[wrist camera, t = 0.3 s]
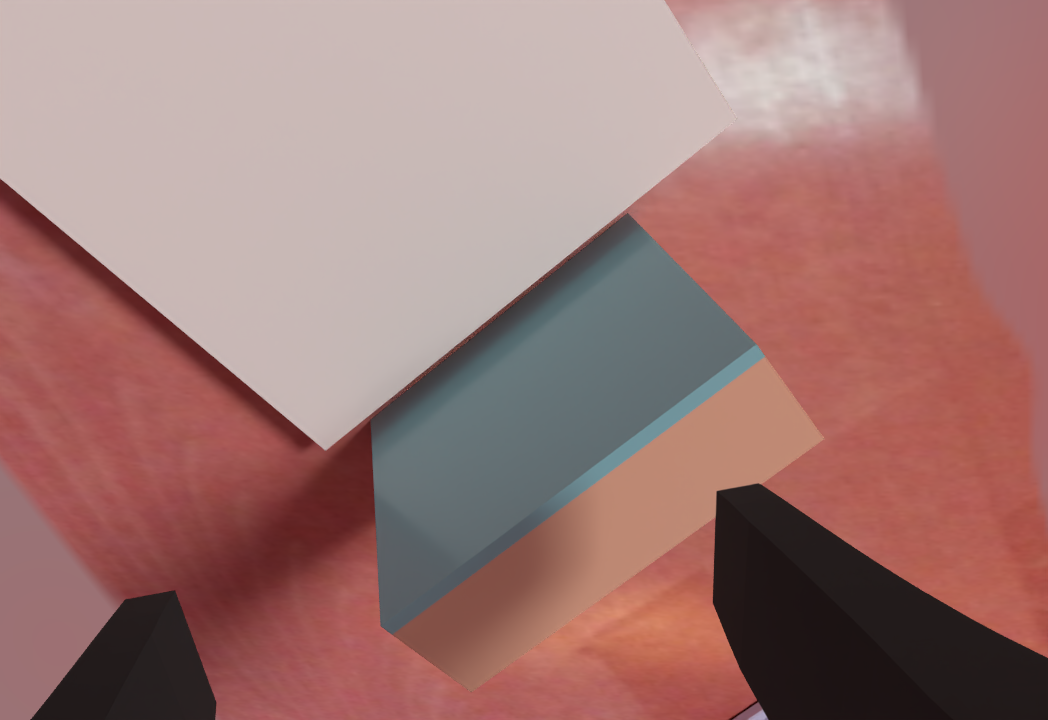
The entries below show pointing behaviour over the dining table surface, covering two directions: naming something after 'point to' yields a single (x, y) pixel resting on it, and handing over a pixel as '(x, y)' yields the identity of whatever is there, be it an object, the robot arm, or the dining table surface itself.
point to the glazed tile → (567, 453)
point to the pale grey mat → (341, 164)
